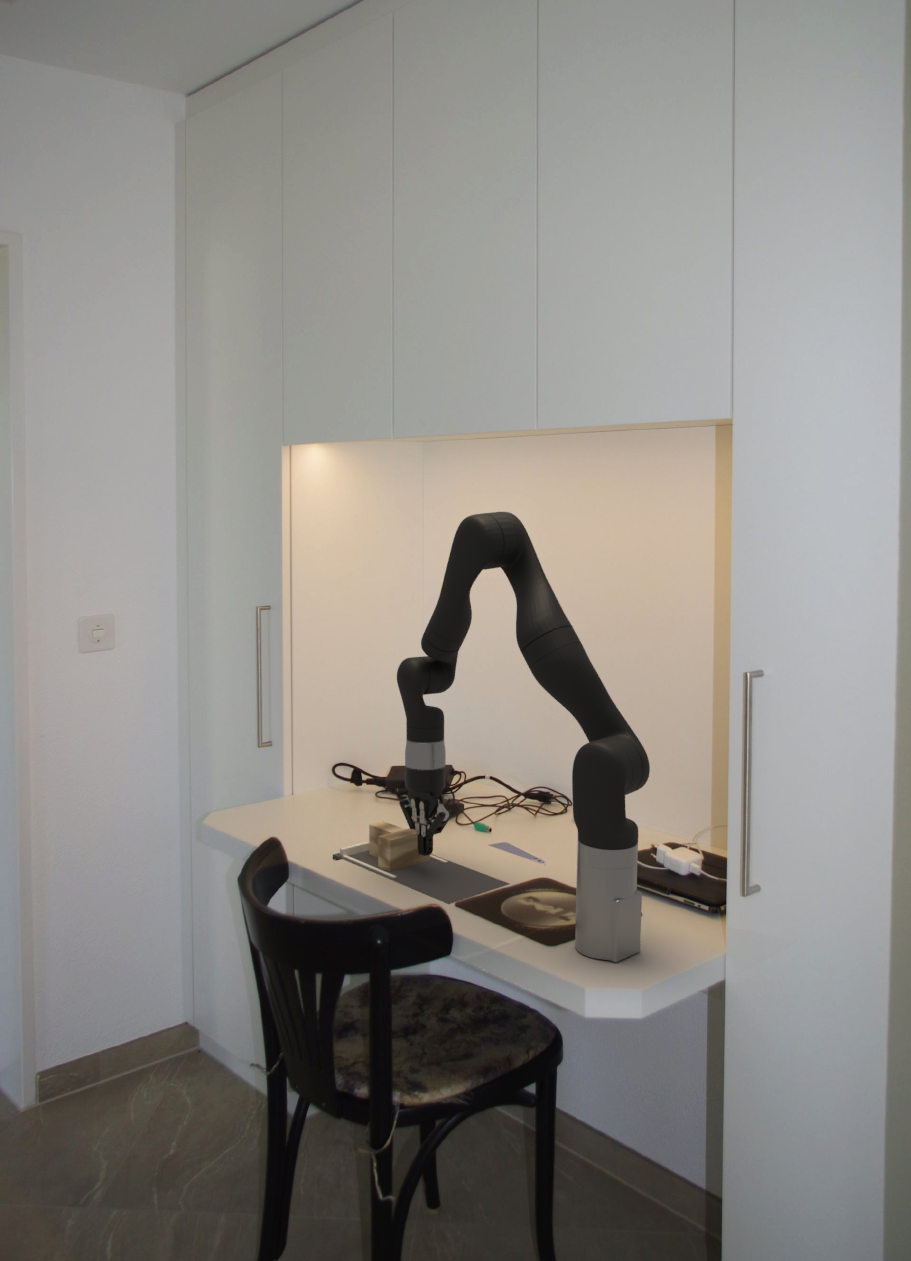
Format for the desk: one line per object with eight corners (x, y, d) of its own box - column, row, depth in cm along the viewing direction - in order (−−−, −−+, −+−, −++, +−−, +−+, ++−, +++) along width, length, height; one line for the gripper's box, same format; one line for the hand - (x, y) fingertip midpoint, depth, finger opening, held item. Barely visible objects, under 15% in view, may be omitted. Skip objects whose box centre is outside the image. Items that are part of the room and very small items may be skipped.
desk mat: (509, 888, 180) (510, 875, 180) (448, 908, 170) (448, 895, 170) (392, 843, 205) (392, 832, 205) (332, 858, 195) (332, 847, 195)
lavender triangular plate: (506, 840, 206) (548, 861, 193) (506, 845, 206) (548, 866, 193) (475, 845, 202) (516, 867, 189) (474, 850, 202) (515, 872, 190)
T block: (430, 860, 193) (430, 830, 192) (389, 871, 186) (390, 840, 185) (395, 847, 200) (396, 818, 200) (356, 857, 194) (356, 827, 193)
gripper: (464, 766, 182) (463, 858, 184) (417, 754, 192) (417, 842, 193) (433, 772, 177) (433, 867, 179) (387, 760, 187) (387, 850, 188)
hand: (425, 854), depth 186 cm, fingers closed
